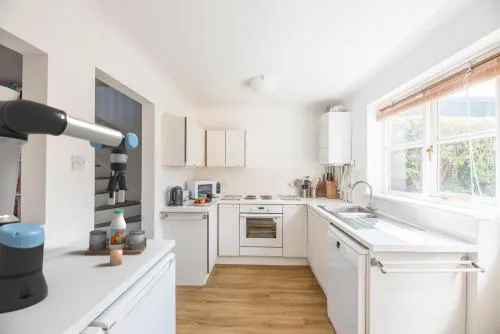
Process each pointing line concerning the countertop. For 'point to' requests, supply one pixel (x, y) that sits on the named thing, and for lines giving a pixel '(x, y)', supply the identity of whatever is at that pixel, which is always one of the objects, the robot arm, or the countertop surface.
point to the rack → (101, 243)
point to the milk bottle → (117, 231)
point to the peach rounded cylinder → (116, 257)
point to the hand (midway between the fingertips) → (116, 203)
